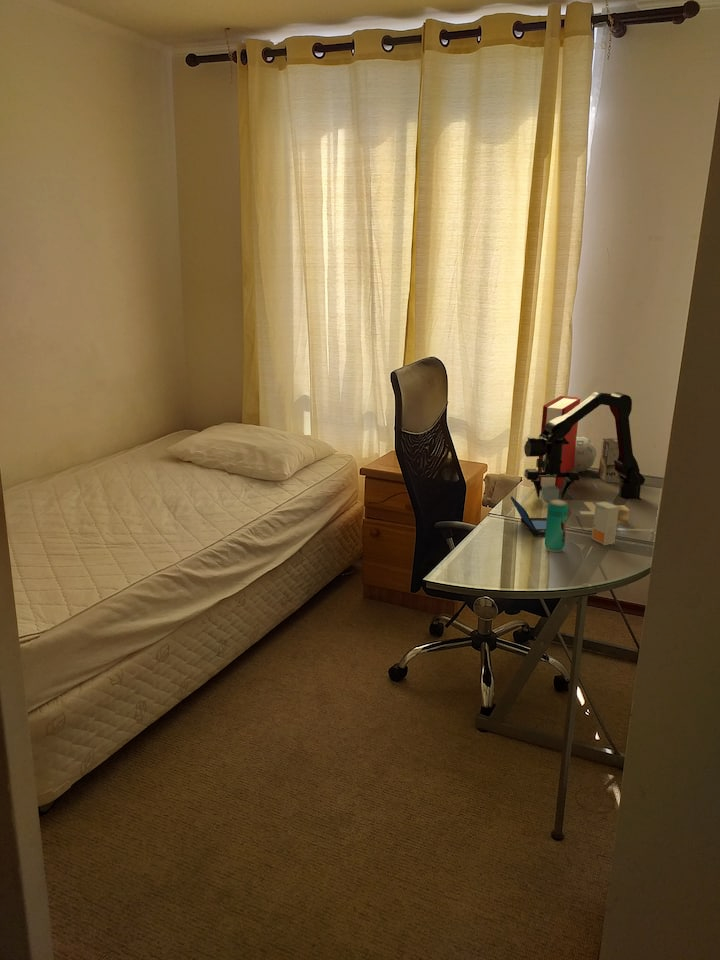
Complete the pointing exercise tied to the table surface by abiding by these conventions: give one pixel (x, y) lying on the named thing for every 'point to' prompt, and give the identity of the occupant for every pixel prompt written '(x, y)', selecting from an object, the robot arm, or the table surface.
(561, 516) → the beverage can
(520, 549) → the table surface
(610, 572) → the table surface
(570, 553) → the table surface
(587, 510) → the letter board
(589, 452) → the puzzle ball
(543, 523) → the handheld game console
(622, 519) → the birch block
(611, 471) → the coffee box
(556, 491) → the grey cube
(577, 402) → the book
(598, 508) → the skincare box
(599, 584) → the table surface
